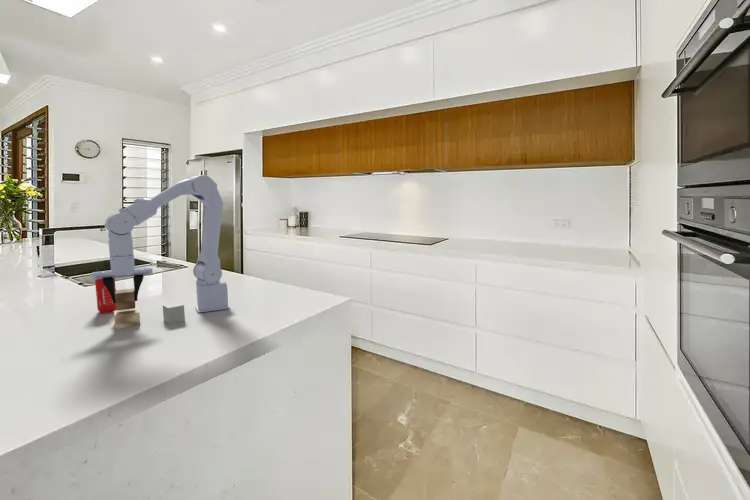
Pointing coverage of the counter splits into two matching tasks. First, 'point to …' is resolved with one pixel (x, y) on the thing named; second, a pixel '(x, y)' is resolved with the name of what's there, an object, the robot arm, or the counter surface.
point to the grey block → (173, 313)
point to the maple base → (126, 318)
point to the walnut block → (124, 299)
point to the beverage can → (104, 298)
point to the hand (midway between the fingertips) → (125, 301)
